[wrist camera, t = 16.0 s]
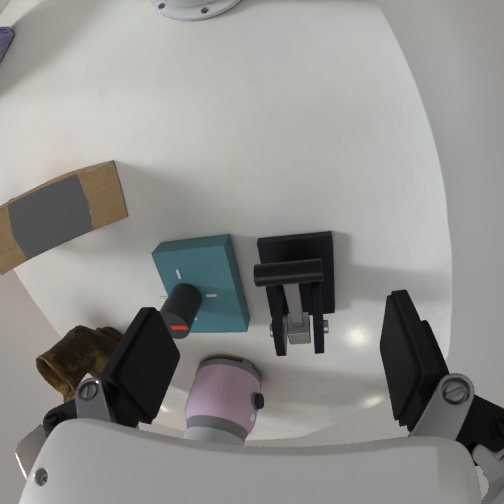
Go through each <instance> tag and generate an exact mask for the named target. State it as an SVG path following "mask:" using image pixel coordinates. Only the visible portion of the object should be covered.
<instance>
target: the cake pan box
mask: <svg viewBox="0 0 504 504" xmlns="http://www.w3.org/2000/svg"><path fill="white" fill-rule="evenodd" d="M13 36H14V35H13V33H12V31H11V30H10V28H9V27H0V62H1V59H2V57H3V55H4V53H5V51H6V49H7V47H8V45H9V43H10V42H11V40H12V38H13Z"/></svg>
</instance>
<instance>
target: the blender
mask: <svg viewBox="0 0 504 504" xmlns="http://www.w3.org/2000/svg"><path fill="white" fill-rule="evenodd" d="M260 389H261V378H260V376H259V375H258V373H257V372H256V371H255V370H253V364H252V363H251V362H249V361H248V360H245V359H243V360H242V362H241V363H240V362H237V361H233V360H229V359H211V360H207V361H205V362H203V363H200V364H199V367H198V369H197V372H196V377H195V379H194V382H193V385H192V388H191V391H190V394H189V397H188V400H187V403H186V407H185V417H186V422H187V429H186V432H185V434H184V436H183V438H184V439H190V440H197V441H204V442H212V443H221V444H231V445H244V441H245V439H246V437H247V436H248V435H249V433H250V432H251V430H252V429H253V427H254V425H255V421H256V416H257V411H258V410H259V409H262V408H263V406H264V398H263V395H262V394H260Z"/></svg>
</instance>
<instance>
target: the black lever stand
mask: <svg viewBox="0 0 504 504" xmlns="http://www.w3.org/2000/svg"><path fill="white" fill-rule="evenodd" d="M257 246H258V251H259V256H260V261H261V264H268V263H279V262H290V261H301V260H311V259H321V261H322V270H323V281H320V282H309V283H298V285H299V291H300V298H301V304H302V311H303V312H309V315H313V329H314V347H315V354H319V353H324V333H328V320H323V314H329V313H335V298H334V263H333V242H332V234H331V231H327V232H317V233H307V234H297V235H287V236H278V237H268V238H259V239H258V242H257ZM265 287H266V292H267V297H268V302H269V307H270V313H271V318H272V324H270V336H271V337H273V338H274V343H275V349H276V354H277V356H286V352H287V336H288V335H287V314H289V308H288V304H287V300H286V295H285V291H284V287H283V285H274V286H265Z"/></svg>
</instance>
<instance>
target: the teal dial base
mask: <svg viewBox="0 0 504 504" xmlns="http://www.w3.org/2000/svg"><path fill="white" fill-rule="evenodd" d="M152 256H153V259H154V262H155V264H156V267H157V270H158V272H159V275H160V277H161V280H162V282H163V285H164V287H165V290H166V292H167V295H168V296H169V294H170V293H171V291H172V289H173V288H174V286H176V285H177V284H180V283H186V284H190V285H192V286H194V287H195V288H197V289H198V290H199V292H200V293H201V295H202V304H201V306H200V308H199V311H198V313H197V315H196V318H195V320H194V322H193V325H192V327H191V329H190V332H189V333H223V332H247V330H248V325H249V320H250V317H249V313H248V309H247V305H246V301H245V297H244V293H243V289H242V285H241V281H240V277H239V273H238V269H237V264H236V260H235V256H234V252H233V248H232V244H231V240H230V236H229V234H228V235H220V236H212V237H203V238H195V239H187V240H179V241H171V242H163V243H160V244H159V245H158V246H157V247H156V249H155V250H154V251H153V252H152ZM168 296H160V299H167V298H168Z"/></svg>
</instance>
